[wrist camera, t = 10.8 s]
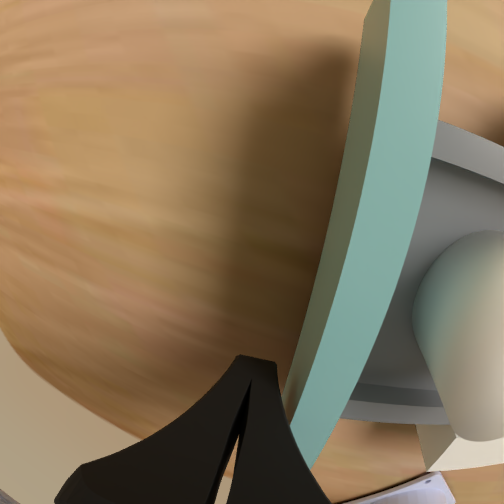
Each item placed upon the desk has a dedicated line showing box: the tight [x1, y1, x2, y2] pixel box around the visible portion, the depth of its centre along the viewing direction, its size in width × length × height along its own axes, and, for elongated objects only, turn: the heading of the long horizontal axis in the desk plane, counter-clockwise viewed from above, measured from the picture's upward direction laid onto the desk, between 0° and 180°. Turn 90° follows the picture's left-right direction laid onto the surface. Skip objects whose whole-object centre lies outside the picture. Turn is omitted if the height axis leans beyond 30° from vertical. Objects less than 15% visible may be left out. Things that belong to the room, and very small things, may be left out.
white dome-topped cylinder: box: [412, 230, 504, 442], centre depth 7 cm, size 5×5×4 cm
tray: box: [281, 0, 504, 470], centre depth 8 cm, size 11×16×4 cm
